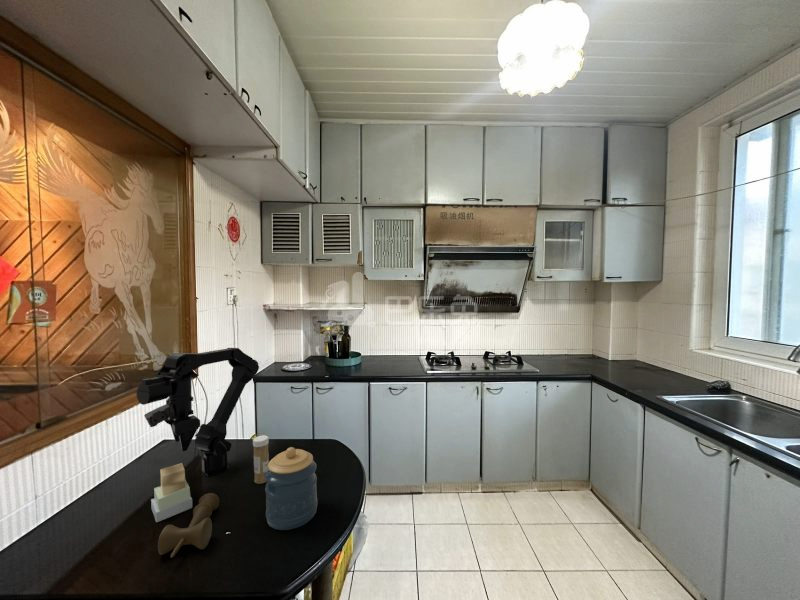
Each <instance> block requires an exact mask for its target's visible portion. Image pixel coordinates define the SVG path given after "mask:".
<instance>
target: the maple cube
mask: <svg viewBox="0 0 800 600" xmlns="http://www.w3.org/2000/svg"><path fill="white" fill-rule="evenodd" d="M159 473H160V486H161V489H162V493H163V495H165V494H168V493H171V492H174V491H177V490H180V489H182V488H185V480H186V470H185V468H184V465H183V463H182V462H180V463H177V464H174V465H171V466H167V467H164V468H161V469H160V471H159Z"/></svg>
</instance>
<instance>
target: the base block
mask: <svg viewBox="0 0 800 600" xmlns="http://www.w3.org/2000/svg"><path fill="white" fill-rule="evenodd" d="M150 502H151V503H150V504H151V507H150V508H151V511H152V513H153V517H154V520H155V522H156V523H158V522H161V521H163V520H166V519H169V518H171V517H173V516H177V515H178V514H181V513H183V512H186V511H188V510H190V509H192V508H193V498H192V496H191V495H190V499H187V500H185V501H182V502H180V503H177V504H175V505H172V506H170V507H167V508H165V509H162V510H160V511H159V510H158V507H157V504H156V502H155V498H151V499H150Z"/></svg>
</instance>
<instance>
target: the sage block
mask: <svg viewBox="0 0 800 600" xmlns="http://www.w3.org/2000/svg"><path fill="white" fill-rule="evenodd" d="M190 488H191V487H190V486H189V483H188V482H187V480H186V479H185V488H182V489H180V490H177V491H174V492H171V493H168V494H165V495H163V493H162V489H161V485H160V486H157V487H154V489H153V491H154V493H153V494H154V495H153V497H154V498H155V502H156V504H157V507H158V510H159V511H160V510H162V509H165V508H167V507H170V506H172V505H175V504H177V503H180V502H182V501H185V500H187V499H190V496H191V490H190ZM154 498H153V499H154Z"/></svg>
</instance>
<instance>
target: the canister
mask: <svg viewBox="0 0 800 600" xmlns="http://www.w3.org/2000/svg"><path fill="white" fill-rule="evenodd" d="M316 471H317V463H316V461H314V456H313V454H312V453H310V452H309V451H306V450H304V449H301V448H295V447H293V446H290V447H288V448H287V449H286V450H284V451H282V452H280V453H278V454H276V455H275V456H274V457H272V458H271V460H269V464H268V469H267V471H266V473H265V479H266V481H267V482H266V483H265V488H264V491H265V507H266V508H265V518H266V522H267V524H268V526H269V527H271V528H272V529H275V530H276V531H277V530H279V531H290V530H293V529H297V528H300V527H302V526H303V525H306V524H307V523H308V522H310V521H311V520H312V519H313V518H314V517H315V514H316V513H317V508H318V497H317V496H318V495H317V493H318V492H317V481H318V477H317V474H316V473H315V472H316Z"/></svg>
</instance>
